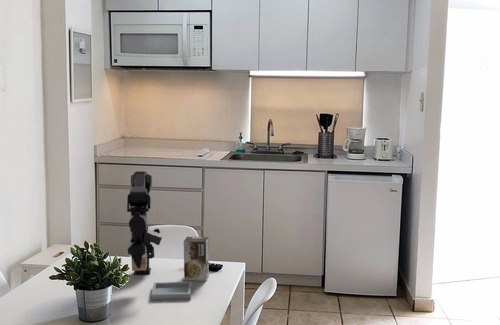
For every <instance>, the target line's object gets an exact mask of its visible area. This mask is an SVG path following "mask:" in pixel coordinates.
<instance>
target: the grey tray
mask: <svg viewBox="0 0 500 325" xmlns="http://www.w3.org/2000/svg"><path fill="white" fill-rule="evenodd" d="M150 296H151V297H150V298H151V301H181V300H182V301H184V300H186V301H189V300H191V298H192V281H164V282H161V281H159V282H157V281H156V282H153V284H152V290H151V295H150Z"/></svg>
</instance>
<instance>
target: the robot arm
mask: <svg viewBox="0 0 500 325" xmlns="http://www.w3.org/2000/svg"><path fill="white" fill-rule="evenodd" d="M130 187H131V188H130V189H129V193H128V194H127V204H126V206H127V207H126V209H127V210H126V212H127V213H130V217H129V222H128V227H129V232H130V244H129V245H128V246H127V255H130V256H131V260H132V258H133V260H134V262H135V264H136V266H137V268H140V267H141V261H142V255H143V254H146V253H147V268H146V270H138V271H133V275H150V274H151V272H152V271H151V270H152V268H151V267H150V260H151V259H153V258H155V247H154V245H157V246H160V244H161V241H162V239H163V233H162V232H161V230H160V228H159V227H158V228H157V227H156V228H154V229H149V226H148V221H147V220H148V219H147V218H148V215H147V214H148V213H149V212H150V211H149V210H150V209H151V202H152V199H151V195H150V193H151V188H153V176H152V175H151V174H148V172H147V171H143V170H141V171H138V170H137V171H134V172H133V174H132V175H130ZM153 244H154V245H153Z"/></svg>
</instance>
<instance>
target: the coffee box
mask: <svg viewBox="0 0 500 325" xmlns="http://www.w3.org/2000/svg"><path fill="white" fill-rule="evenodd" d="M209 255H210V254H209V237H207V236H186V237H185V239H184V240H183V270H184V271H183V276H184V278H183V280H184V281H200V282H205V281H206V282H207V281H208V278H209V276H210V270H209V262H210V261H209V260H210V259H209Z"/></svg>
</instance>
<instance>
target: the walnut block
mask: <svg viewBox="0 0 500 325" xmlns="http://www.w3.org/2000/svg"><path fill="white" fill-rule="evenodd" d="M146 268H147V253H146V254H143V255H142V261H141V267H140V268H137V266H136V264H135V262H134V260H133V258H132V259H131V271H133V272H134V271H138V270H146Z"/></svg>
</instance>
